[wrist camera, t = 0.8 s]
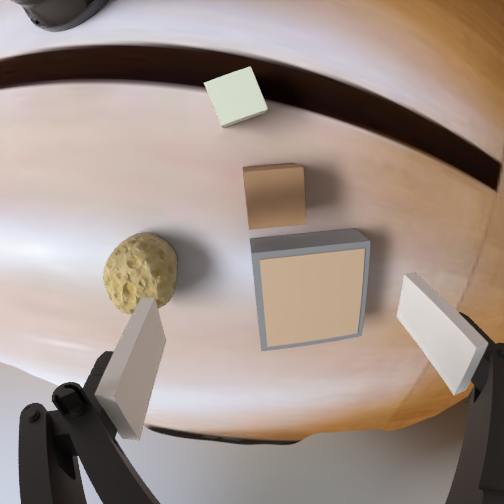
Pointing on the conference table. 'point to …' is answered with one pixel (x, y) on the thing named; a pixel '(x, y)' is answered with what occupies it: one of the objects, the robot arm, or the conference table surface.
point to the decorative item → (140, 272)
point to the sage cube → (236, 97)
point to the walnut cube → (275, 195)
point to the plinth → (310, 287)
